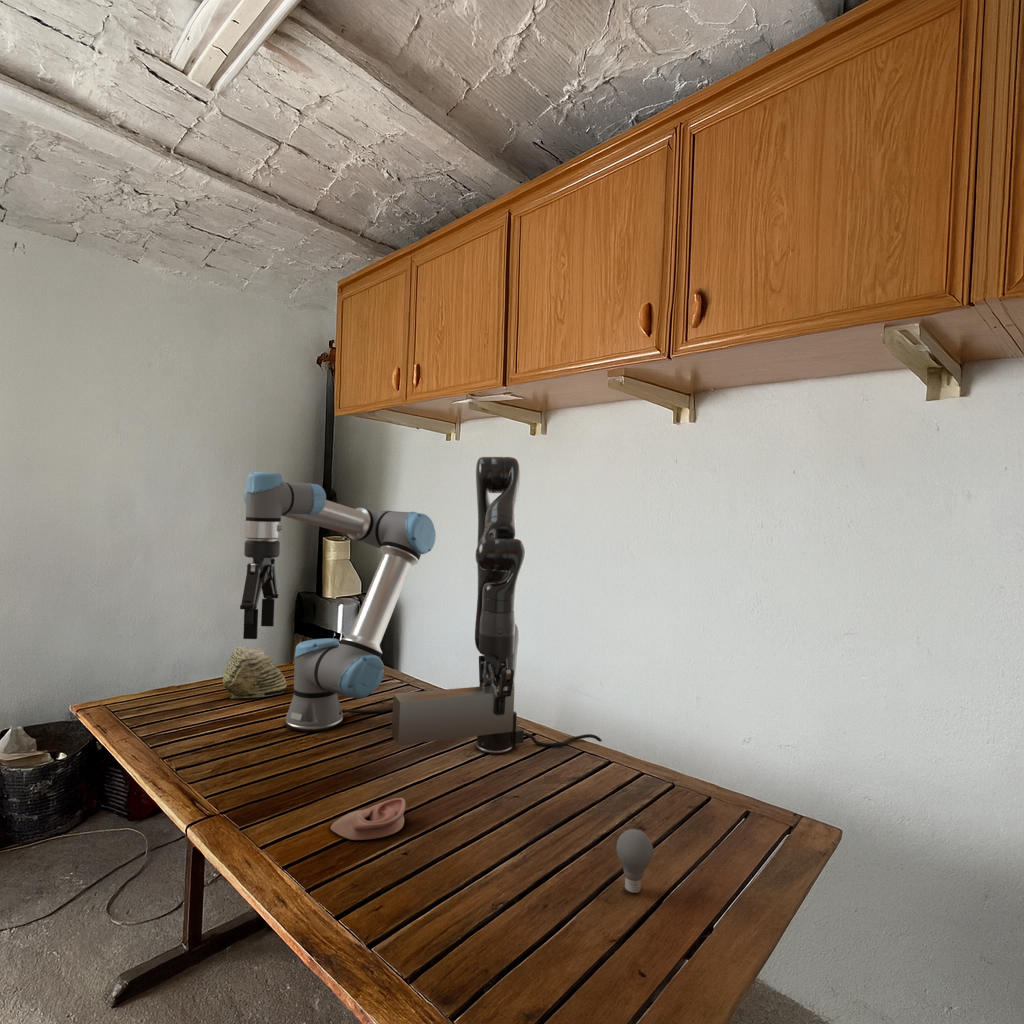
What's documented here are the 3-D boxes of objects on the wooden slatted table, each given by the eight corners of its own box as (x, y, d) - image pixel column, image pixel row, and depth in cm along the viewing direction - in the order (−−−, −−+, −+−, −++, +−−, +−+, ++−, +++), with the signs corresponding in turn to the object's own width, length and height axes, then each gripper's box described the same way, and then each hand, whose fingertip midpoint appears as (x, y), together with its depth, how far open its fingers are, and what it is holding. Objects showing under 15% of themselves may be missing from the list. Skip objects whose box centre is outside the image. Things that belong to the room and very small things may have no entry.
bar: (398, 745, 124) (400, 701, 124) (391, 735, 129) (393, 693, 129) (512, 731, 134) (514, 691, 134) (502, 723, 139) (504, 684, 139)
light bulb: (610, 879, 108) (613, 822, 108) (644, 879, 109) (647, 822, 109) (619, 902, 102) (622, 840, 102) (655, 901, 103) (658, 840, 103)
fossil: (218, 695, 195) (220, 647, 195) (278, 685, 208) (279, 640, 207) (228, 703, 189) (230, 653, 188) (289, 692, 201) (290, 645, 201)
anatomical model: (323, 814, 118) (350, 787, 130) (322, 835, 118) (350, 806, 130) (389, 824, 116) (412, 796, 127) (389, 846, 116) (411, 816, 127)
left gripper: (264, 544, 133) (260, 645, 133) (292, 536, 158) (289, 621, 158) (227, 543, 132) (223, 644, 132) (261, 535, 157) (257, 621, 157)
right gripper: (527, 637, 130) (523, 719, 130) (499, 624, 143) (496, 698, 143) (494, 639, 127) (490, 723, 127) (468, 625, 140) (465, 701, 140)
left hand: (259, 632), depth 145 cm, fingers open, 13 cm apart
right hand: (493, 709), depth 135 cm, fingers closed on bar, 5 cm apart
